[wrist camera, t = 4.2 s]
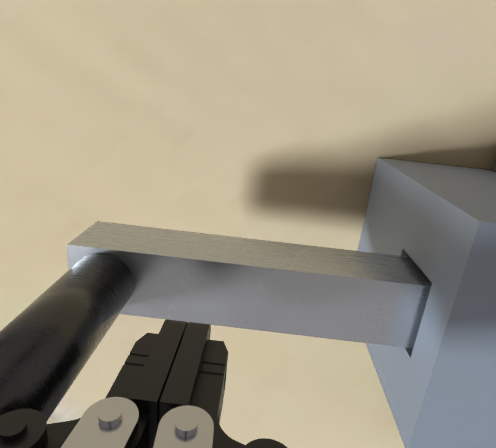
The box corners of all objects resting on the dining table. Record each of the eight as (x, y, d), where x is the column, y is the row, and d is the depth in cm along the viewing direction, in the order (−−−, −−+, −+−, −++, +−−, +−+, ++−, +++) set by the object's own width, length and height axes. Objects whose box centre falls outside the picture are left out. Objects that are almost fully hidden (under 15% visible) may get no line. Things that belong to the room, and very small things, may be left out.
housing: (381, 141, 24) (572, 230, 9) (494, 153, 24) (886, 265, 9) (345, 308, 28) (436, 570, 13) (442, 320, 28) (650, 598, 13)
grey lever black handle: (97, 221, 19) (-116, 382, 8) (619, 281, 18) (1073, 529, 8) (99, 276, 20) (-90, 482, 9) (594, 334, 19) (970, 618, 9)
